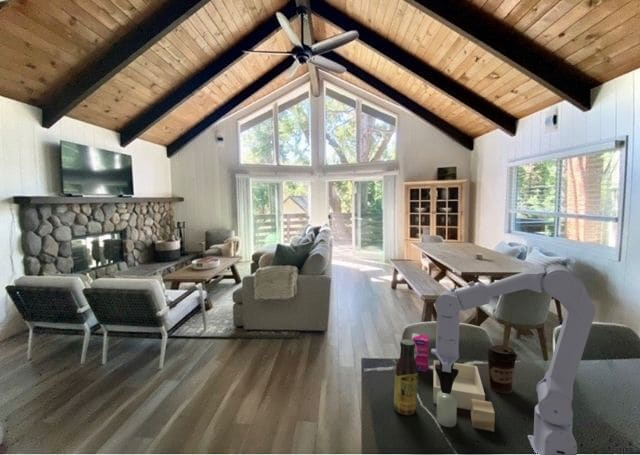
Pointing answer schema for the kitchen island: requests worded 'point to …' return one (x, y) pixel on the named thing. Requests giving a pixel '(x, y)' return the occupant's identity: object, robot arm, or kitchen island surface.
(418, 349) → the supplement box
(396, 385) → the sauce bottle
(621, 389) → the kitchen island surface
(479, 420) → the oak cube
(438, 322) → the robot arm
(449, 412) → the sage cylinder
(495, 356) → the coffee cup
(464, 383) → the box
